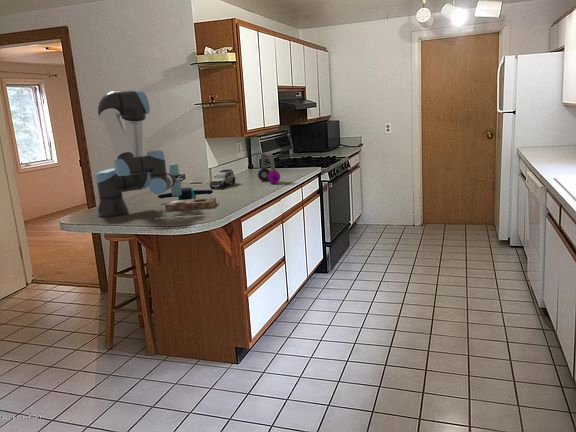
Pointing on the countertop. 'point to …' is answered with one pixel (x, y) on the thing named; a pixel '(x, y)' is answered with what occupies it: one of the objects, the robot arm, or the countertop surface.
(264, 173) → the headphones
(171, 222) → the countertop surface
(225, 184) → the toy car
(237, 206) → the countertop surface
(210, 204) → the pocket block
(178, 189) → the peg
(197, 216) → the countertop surface
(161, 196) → the toy
